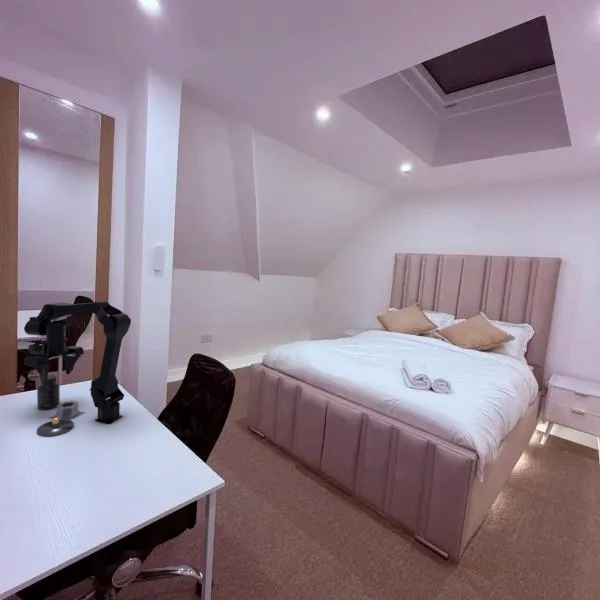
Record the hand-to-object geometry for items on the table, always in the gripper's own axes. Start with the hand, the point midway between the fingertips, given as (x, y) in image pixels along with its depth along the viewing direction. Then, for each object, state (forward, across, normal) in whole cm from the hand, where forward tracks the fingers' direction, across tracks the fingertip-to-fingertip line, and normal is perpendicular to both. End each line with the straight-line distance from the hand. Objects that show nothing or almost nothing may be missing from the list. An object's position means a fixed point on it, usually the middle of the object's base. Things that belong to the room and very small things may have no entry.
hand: (56, 378), depth 121 cm
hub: (+13, +11, +12) cm, 20 cm away
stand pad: (+13, +2, +6) cm, 15 cm away
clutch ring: (+13, +2, +6) cm, 14 cm away
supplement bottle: (+13, -1, -6) cm, 14 cm away
